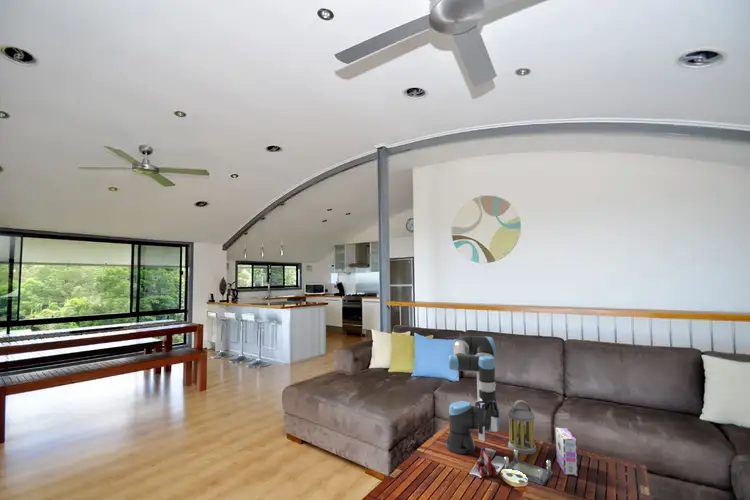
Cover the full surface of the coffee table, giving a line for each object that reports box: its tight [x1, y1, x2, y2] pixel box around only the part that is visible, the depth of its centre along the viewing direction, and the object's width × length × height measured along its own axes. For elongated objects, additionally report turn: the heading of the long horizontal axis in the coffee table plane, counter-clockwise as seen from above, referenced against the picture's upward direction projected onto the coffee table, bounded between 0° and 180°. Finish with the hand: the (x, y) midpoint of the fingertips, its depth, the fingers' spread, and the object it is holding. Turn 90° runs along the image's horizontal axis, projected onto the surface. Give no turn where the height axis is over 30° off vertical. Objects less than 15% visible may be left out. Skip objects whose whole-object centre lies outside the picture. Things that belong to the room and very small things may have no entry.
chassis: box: [502, 449, 554, 486], centre depth 174 cm, size 18×13×6 cm
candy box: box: [554, 427, 578, 477], centre depth 178 cm, size 14×6×16 cm, turn 168°
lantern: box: [507, 399, 537, 455], centre depth 199 cm, size 14×14×25 cm
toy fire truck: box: [475, 447, 498, 478], centre depth 173 cm, size 7×12×10 cm, turn 1°
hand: (488, 435), depth 174 cm, fingers open, 13 cm apart
